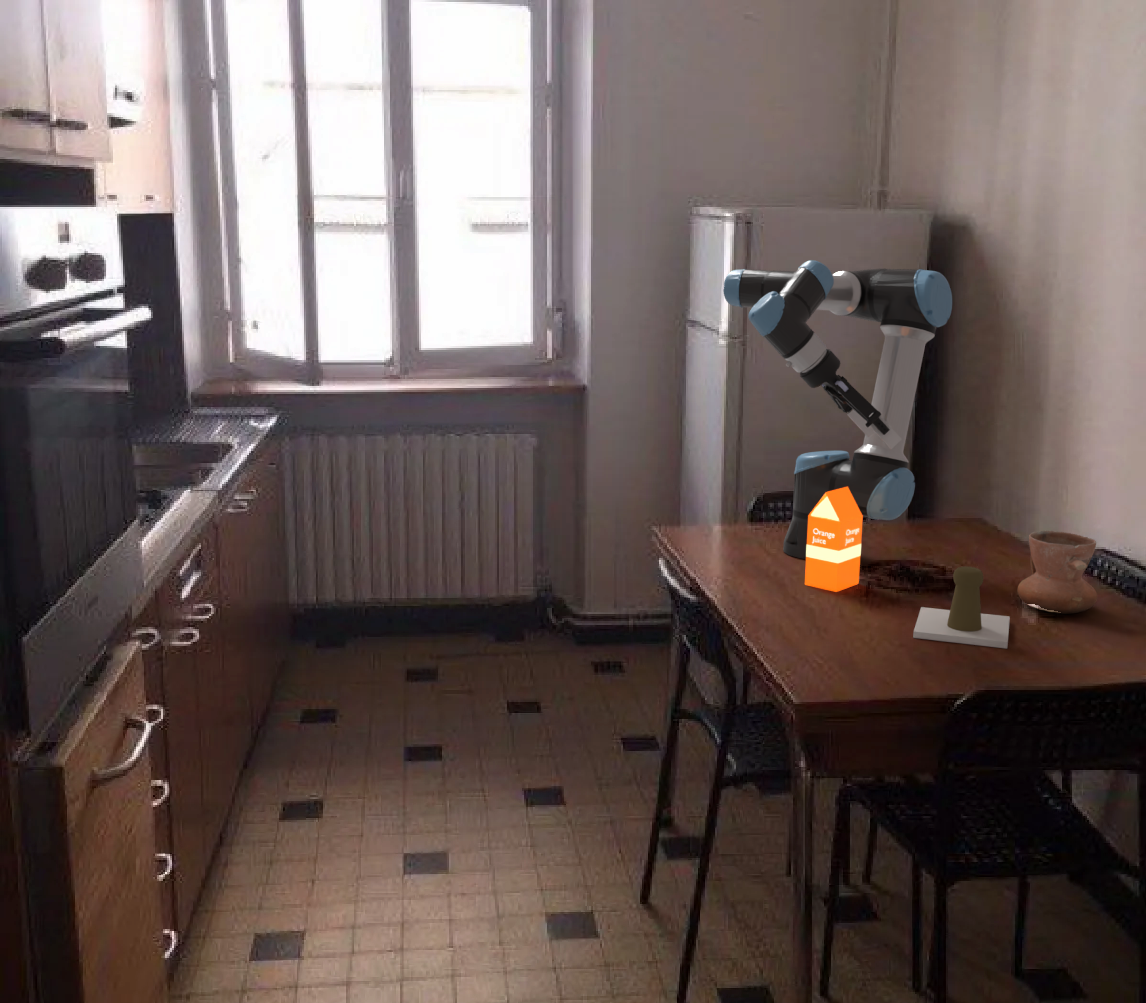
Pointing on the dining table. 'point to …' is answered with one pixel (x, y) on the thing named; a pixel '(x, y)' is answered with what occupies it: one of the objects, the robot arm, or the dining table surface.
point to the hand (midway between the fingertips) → (884, 438)
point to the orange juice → (834, 542)
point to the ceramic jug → (1059, 572)
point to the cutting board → (935, 628)
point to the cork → (966, 600)
